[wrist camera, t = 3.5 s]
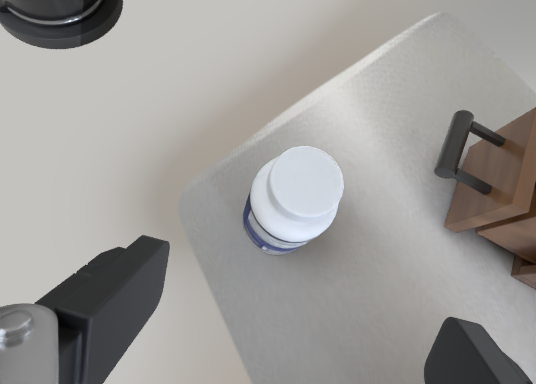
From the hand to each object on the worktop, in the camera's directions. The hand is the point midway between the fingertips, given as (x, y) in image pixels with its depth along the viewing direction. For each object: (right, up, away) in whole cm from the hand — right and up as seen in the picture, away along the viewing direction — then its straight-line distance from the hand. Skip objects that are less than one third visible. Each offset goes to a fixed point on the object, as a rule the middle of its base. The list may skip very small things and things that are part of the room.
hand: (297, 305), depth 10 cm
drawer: (+18, +2, +20) cm, 27 cm away
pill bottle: (0, +1, +17) cm, 17 cm away
